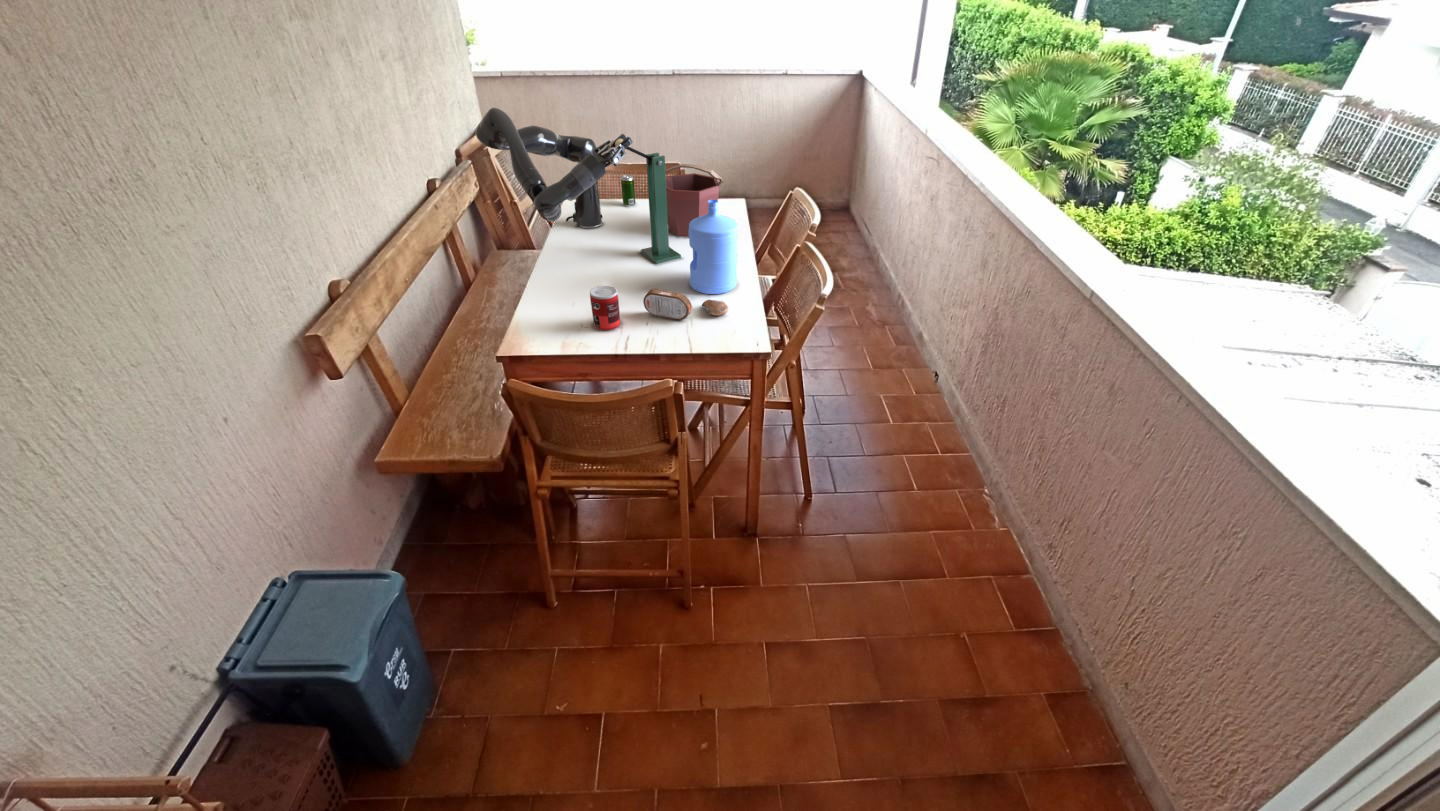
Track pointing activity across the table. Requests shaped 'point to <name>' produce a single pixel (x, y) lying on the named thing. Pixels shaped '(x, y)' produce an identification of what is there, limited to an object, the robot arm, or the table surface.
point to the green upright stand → (658, 212)
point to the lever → (634, 150)
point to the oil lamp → (715, 307)
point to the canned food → (605, 307)
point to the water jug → (713, 252)
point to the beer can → (628, 190)
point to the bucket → (689, 197)
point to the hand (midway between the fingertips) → (627, 137)
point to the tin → (667, 304)
